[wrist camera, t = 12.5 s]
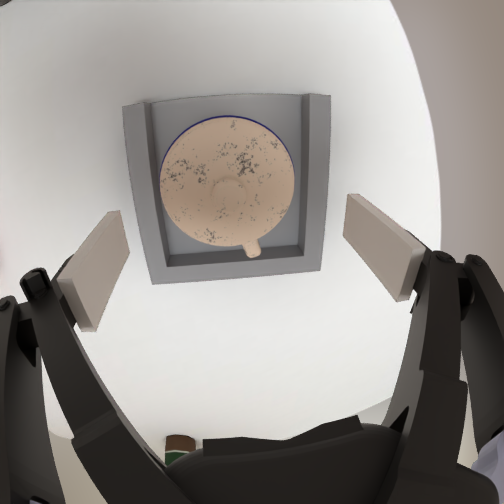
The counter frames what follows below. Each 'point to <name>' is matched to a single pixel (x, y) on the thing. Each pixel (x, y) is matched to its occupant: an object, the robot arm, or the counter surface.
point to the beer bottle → (178, 447)
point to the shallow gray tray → (272, 244)
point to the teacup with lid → (227, 181)
